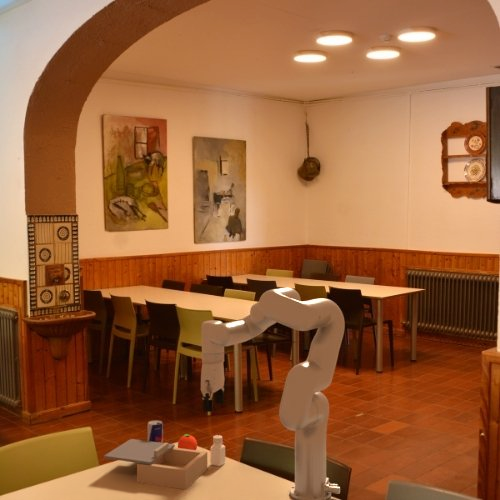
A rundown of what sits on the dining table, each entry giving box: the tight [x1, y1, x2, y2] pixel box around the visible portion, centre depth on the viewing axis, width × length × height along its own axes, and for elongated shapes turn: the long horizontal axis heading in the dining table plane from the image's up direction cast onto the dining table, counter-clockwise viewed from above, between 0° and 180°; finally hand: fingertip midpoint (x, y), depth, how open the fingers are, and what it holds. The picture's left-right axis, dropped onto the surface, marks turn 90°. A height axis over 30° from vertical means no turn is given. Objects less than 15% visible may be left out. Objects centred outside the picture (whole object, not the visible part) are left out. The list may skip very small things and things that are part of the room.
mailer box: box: [136, 447, 208, 490], centre depth 214 cm, size 17×17×6 cm
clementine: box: [177, 433, 198, 450], centre depth 233 cm, size 8×7×7 cm
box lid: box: [103, 438, 176, 465], centre depth 217 cm, size 17×17×3 cm
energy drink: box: [146, 419, 164, 443], centre depth 231 cm, size 5×5×12 cm
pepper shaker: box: [210, 434, 226, 467], centre depth 223 cm, size 4×4×10 cm
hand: (213, 407), depth 222 cm, fingers open, 9 cm apart
